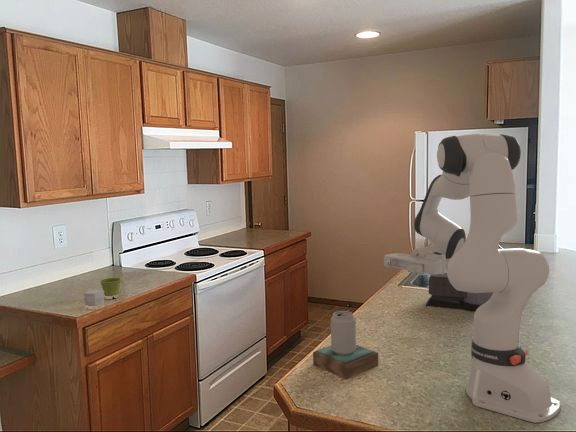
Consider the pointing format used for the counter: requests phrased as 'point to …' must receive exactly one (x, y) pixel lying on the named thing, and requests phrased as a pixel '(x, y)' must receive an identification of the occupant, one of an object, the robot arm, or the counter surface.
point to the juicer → (453, 295)
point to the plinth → (345, 361)
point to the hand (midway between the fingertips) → (397, 267)
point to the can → (343, 333)
